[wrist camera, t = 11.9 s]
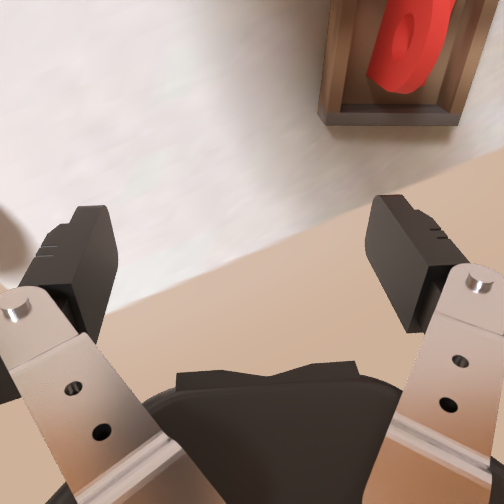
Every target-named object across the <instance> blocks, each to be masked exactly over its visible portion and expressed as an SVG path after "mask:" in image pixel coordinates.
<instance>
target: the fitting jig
mask: <svg viewBox="0 0 504 504" xmlns="http://www.w3.org/2000/svg"><path fill="white" fill-rule="evenodd" d="M387 1H388V0H331V8H330V16H329V24H328V32H327V40H326V48H325V56H324V64H323V72H322V80H321V88H320V96H319V104H318V112H317V114H318V115H319V117H320V118H321V120H322V121H323V123H324V124H325V125H347V126H458V123H459V120H460V117H461V114H462V111H463V108H464V105H465V102H466V99H467V96H468V93H469V90H470V87H471V84H472V81H473V78H474V75H475V72H476V68H477V65H478V62H479V59H480V56H481V53H482V50H483V47H484V44H485V41H486V38H487V35H488V32H489V29H490V26H491V23H492V20H493V17H494V14H495V10H496V7H497V4H498V1H499V0H456V1H455V4H454V6H453V9H452V12H451V14H450V18H449V24H448V29H447V33H446V37H445V40H444V44H443V47H442V49H441V52H440V54H439V57H438V59H437V61H436V63H435V65H434V67H433V69H432V71H431V72H430V74H429V75H428V77H427V79H426V82H425V84H424V86H420V87H419V88H417V89H416V90H415V91H413V92H411V93H409V94H402V93H394V92H388V91H386V90H385V89H383V88H382V87H381V86H380V85H378V84H377V83H376V82H374V81H373V80H372V79H370V78H369V77H368V76H367V75H366V73H367V70H368V66H369V63H370V59H371V56H372V53H373V49H374V46H375V42H376V39H377V35H378V32H379V28H380V25H381V21H382V18H383V15H384V11H385V8H386V4H387Z"/></svg>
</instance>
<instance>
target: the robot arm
mask: <svg viewBox="0 0 504 504" xmlns="http://www.w3.org/2000/svg"><path fill="white" fill-rule="evenodd" d="M365 251H366V255H367V258H368V260H369V262H370V264H371V266H372V268H373V269H374V271H375V273H376V275H377V277H378V279H379V281H380V283H381V285H382V287H383V289H384V291H385V292H386V294H387V296H388V298H389V300H390V302H391V304H392V306H393V308H394V310H395V312H396V313H397V315H398V317H399V319H400V321H401V323H402V325H403V327H404V329H405V331H406V333H420V332H423V333H424V335H425V336H424V339H423V341H422V344H421V346H420V349H419V352H418V354H417V357H416V360H415V362H414V365H413V367H412V369H411V372H410V375H409V377H408V380H407V382H406V385H405V387H404V390H403V391H402V390H400V389H399V388H397V387H395V386H393V385H391V384H389V383H387V382H384V381H381V380H379V379H376V378H372V377H368V376H365V375H360V374H359V372H358V369H357V366H356V364H355V361H345V362H330V363H315V364H309V365H306V366H303V367H299V368H296V369H293V370H290V371H287V372H283V373H280V374H276V375H273V376H259V375H252V374H245V373H239V372H232V371H225V370H213V371H198V372H184V373H177V375H176V387H175V388H172V389H168V390H166V391H164V392H161V393H159V394H157V395H155V396H153V397H151V398H149V399H148V400H146V401H145V402H143V403H142V404H141V402H140V401H139V400H138V399H137V397H136V396H135V395H134V393H133V392H132V391H131V390H130V388H129V387H128V386H127V385H126V383H125V382H124V381H123V379H122V378H121V377H120V376H119V374H118V373H117V372H116V370H115V369H114V368H113V367H112V365H111V364H110V363H109V361H108V360H107V359H106V358H105V356H104V355H103V354H102V353H101V351H100V350H99V349H98V347H97V346H96V343H97V340H98V336H99V333H100V329H101V325H102V322H103V318H104V315H105V311H106V308H107V304H108V301H109V297H110V294H111V290H112V286H113V283H114V279H115V276H116V272H117V268H118V251H117V246H116V242H115V238H114V233H113V229H112V225H111V220H110V216H109V212H108V209H107V207H106V206H105V205H99V206H78V207H77V209H76V211H75V213H74V215H73V217H72V219H71V221H70V223H69V224H60V225H58V226H57V227H56V228H55V229H53V230H52V231H51V232H50V233H48V234H47V236H46V238H45V239H44V241H43V243H42V245H41V248H39V250H38V252H37V254H36V258H34V259H33V261H32V262H31V264H30V266H29V268H28V270H27V271H26V273H25V275H24V277H23V278H22V280H21V282H20V284H19V286H18V287H17V288H13V289H10V290H8V291H5V292H3V293H1V294H0V404H3V403H6V402H9V401H12V400H15V399H18V398H21V397H22V398H23V400H24V402H25V404H26V406H27V408H28V410H29V411H30V413H31V415H32V417H33V419H34V421H35V423H36V425H37V427H38V429H39V431H40V432H41V434H42V436H43V438H44V440H45V442H46V444H47V446H48V448H49V449H50V451H51V453H52V455H53V457H54V459H55V461H56V463H57V465H58V467H59V469H60V471H61V473H62V474H63V476H64V478H65V480H66V482H65V483H64V484H63V485H62V486H61V487H60V488H59V489H58V491H57V492H56V493H55V494H54V495H53V496H52V497H51V498H50V499H49V500H48V501H47V502H46V503H45V504H504V465H503V464H501V463H500V462H499V461H497V460H496V459H495V458H493V457H492V456H491V451H492V445H493V439H494V433H495V427H496V421H497V415H498V408H499V402H500V396H501V390H502V384H503V378H504V276H503V275H502V274H500V273H499V272H497V271H495V270H493V269H491V268H488V267H486V266H483V265H479V264H472V263H470V262H469V261H468V260H467V259H466V257H465V256H464V255H463V254H462V253H461V251H460V250H459V249H458V248H457V247H456V246H455V244H454V243H453V242H452V241H451V240H450V239H448V236H447V235H446V234H445V233H444V231H442V230H441V228H440V227H439V225H438V224H437V223H436V222H435V221H434V219H433V218H431V217H430V216H428V215H426V214H425V213H423V212H421V211H420V210H414V209H413V208H412V207H411V205H410V204H409V203H408V201H407V200H406V199H405V198H404V196H403V195H377V196H375V198H374V200H373V203H372V207H371V212H370V217H369V222H368V227H367V232H366V237H365Z"/></svg>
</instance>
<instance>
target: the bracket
mask: <svg viewBox="0 0 504 504" xmlns="http://www.w3.org/2000/svg"><path fill="white" fill-rule="evenodd" d="M455 1H456V0H388V1H387V4H386V8H385V11H384V15H383V18H382V21H381V25H380V28H379V32H378V35H377V39H376V42H375V46H374V49H373V53H372V56H371V59H370V63H369V66H368V70H367V73H366V75H367V76H368V77H369V78H370V79H372V80H373V81H374V82H376V83H377V84H378V85H380V86H381V87H382V88H383V89H385V90H386V91H388V92H394V93H402V94H409V93H411V92H413V91H415V90H416V89H417V88H419V87H420V86H424V84H425V82H426V79H427V77H428V75H429V74H430V72H431V71H432V69H433V67H434V65H435V63H436V61H437V59H438V57H439V54H440V52H441V49H442V47H443V44H444V40H445V37H446V33H447V29H448V24H449V18H450V14H451V12H452V9H453V6H454V4H455Z"/></svg>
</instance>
